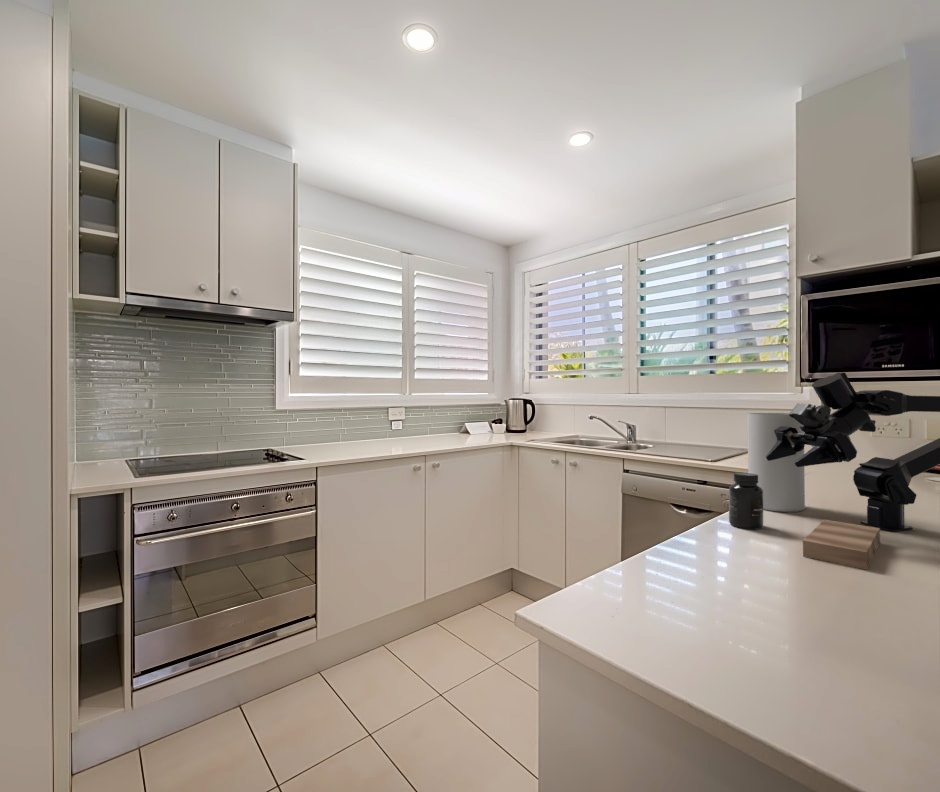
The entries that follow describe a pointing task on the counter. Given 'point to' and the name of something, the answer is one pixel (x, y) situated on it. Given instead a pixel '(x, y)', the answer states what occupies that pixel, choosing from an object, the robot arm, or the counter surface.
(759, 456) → the cylinder vase
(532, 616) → the counter surface
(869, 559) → the walnut ledge
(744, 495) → the supplement bottle
